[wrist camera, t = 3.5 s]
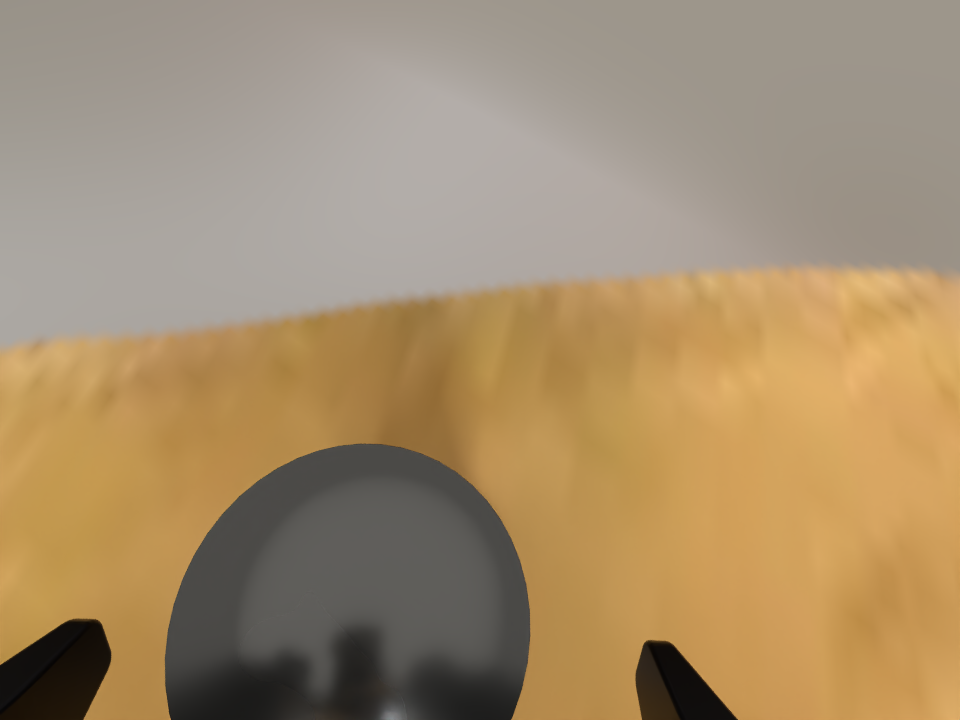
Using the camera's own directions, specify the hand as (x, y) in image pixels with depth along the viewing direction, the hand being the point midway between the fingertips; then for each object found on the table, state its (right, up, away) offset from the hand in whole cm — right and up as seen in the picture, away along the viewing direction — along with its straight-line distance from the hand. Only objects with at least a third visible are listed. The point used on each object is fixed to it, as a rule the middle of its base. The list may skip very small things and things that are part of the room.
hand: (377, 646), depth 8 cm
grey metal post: (0, -3, +8) cm, 8 cm away
